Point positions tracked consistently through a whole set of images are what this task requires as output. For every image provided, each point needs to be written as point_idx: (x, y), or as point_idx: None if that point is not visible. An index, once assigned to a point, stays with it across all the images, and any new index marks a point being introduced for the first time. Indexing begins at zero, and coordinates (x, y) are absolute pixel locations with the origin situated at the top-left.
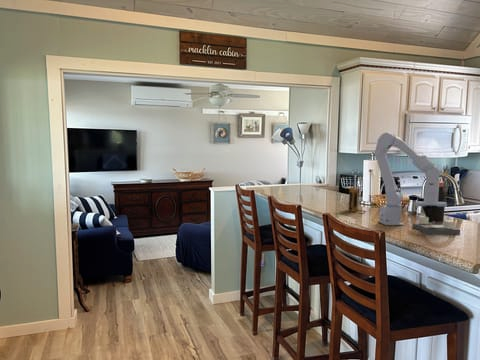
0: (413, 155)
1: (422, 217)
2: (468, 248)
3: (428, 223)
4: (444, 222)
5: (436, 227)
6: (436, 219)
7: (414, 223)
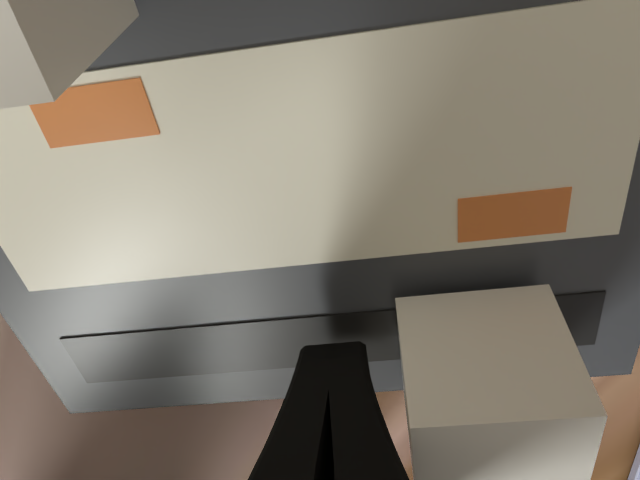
0: None
1: (604, 416)
2: None
3: None
4: (62, 18)
5: (331, 27)
6: None
7: (631, 346)
